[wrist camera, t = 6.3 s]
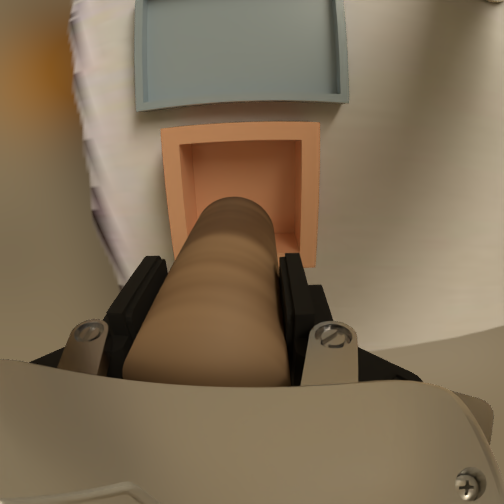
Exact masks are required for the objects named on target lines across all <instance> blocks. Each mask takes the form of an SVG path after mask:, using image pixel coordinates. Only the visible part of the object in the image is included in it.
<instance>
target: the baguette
mask: <svg viewBox="0 0 504 504" xmlns="http://www.w3.org/2000/svg"><path fill="white" fill-rule="evenodd" d="M123 379H126V380H134V381H143V382H152V383H163V384H176V385H192V386H214V387H285V386H291V381H290V370H289V360H288V350H287V346H286V337H285V327H284V317H283V308H282V298H281V289H280V280H279V267H278V258H277V250H276V241H275V233H274V227H273V223H272V221H271V218H270V217H269V215H268V214H267V212H266V211H265V210H264V209H263V208H262V207H261V206H260V205H258V204H257V203H255V202H254V201H252V200H249V199H246V198H243V197H225V198H221V199H219V200H216V201H214V202H213V203H211V204H210V205H208V206H207V207H206V208H205V209H204V210H203V212H202V213H201V215H200V216H199V218H198V220H197V222H196V223H195V225H194V227H193V229H192V230H191V232H190V234H189V236H188V238H187V239H186V241H185V243H184V245H183V247H182V249H181V250H180V252H179V254H178V256H177V258H176V260H175V262H174V263H173V265H172V267H171V269H170V271H169V273H168V275H167V277H166V279H165V280H164V282H163V284H162V286H161V288H160V290H159V292H158V294H157V296H156V298H155V300H154V302H153V304H152V306H151V308H150V310H149V312H148V314H147V316H146V318H145V320H144V322H143V324H142V326H141V328H140V330H139V332H138V334H137V336H136V338H135V340H134V343H133V345H132V347H131V349H130V351H129V353H128V355H127V357H126V359H125V362H124V365H123Z"/></svg>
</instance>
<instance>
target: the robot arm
mask: <svg viewBox="0 0 504 504" xmlns="http://www.w3.org/2000/svg"><path fill="white" fill-rule="evenodd" d="M487 1H490V2H494V3H498V2H503V1H504V0H487ZM167 275H168V272H167V266H166V261H165V260H164V259H161V257H160V256H146V257H145V258H144V259H143V261H142V262H141V263H140V265H139V266H138V267H137V269H136V270H135V272H134V273H133V274H132V276H131V277H130V279H129V280H128V282H127V283H126V284H125V286H124V287H123V289H122V290H121V292H120V293H119V295H118V296H117V298H116V299H115V300H114V302H113V303H112V305H111V306H110V308H109V309H108V311H107V314H106V316H105V317H104V319H103V320H100V319H91V320H86V321H84V322H81V323H80V324H78V325H77V326H76V327H75V328H74V329H73V330H72V331H71V333H70V336H69V338H68V341H67V343H66V346H65V347H63V348H61V349H59V350H57V351H54V352H52V353H50V354H47V355H45V356H43V357H41V358H38V359H36V360H34V361H31V362H29V363H28V362H23V361H17V360H9V359H0V504H504V480H503V478H502V475H501V472H500V469H499V467H498V464H497V461H496V459H495V456H494V454H493V452H492V450H491V448H490V441H491V435H492V427H493V419H494V415H493V410H492V408H491V406H490V405H489V404H488V403H487V402H486V401H484V400H482V399H479V398H476V397H472V396H469V395H465V394H461V393H458V392H454V391H451V390H448V389H446V388H444V387H441V386H438V385H434V384H430V383H424V382H423V381H422V380H421V379H420V378H419V377H418V376H417V375H415V374H414V373H412V372H410V371H408V370H405V369H403V368H401V367H399V366H397V365H395V364H392V363H390V362H388V361H386V360H384V359H382V358H380V357H378V356H376V355H373V354H371V353H369V352H367V351H365V350H363V349H361V348H359V347H358V340H357V334H356V332H355V331H354V329H353V328H352V327H350V326H349V325H347V324H345V323H342V322H337V321H333V319H332V315H331V312H330V309H329V306H328V303H327V300H326V297H325V294H324V291H323V288H322V285H308V284H307V280H306V276H305V272H304V268H303V265H302V261H301V257H300V253H285V257H280V258H279V280H280V289H281V298H282V308H283V317H284V327H285V337H286V346H287V350H288V360H289V370H290V381H291V386H285V387H214V386H192V385H176V384H163V383H152V382H143V381H134V380H126V379H123V365H124V362H125V359H126V357H127V355H128V353H129V351H130V349H131V347H132V345H133V343H134V340H135V338H136V336H137V334H138V332H139V330H140V328H141V326H142V324H143V322H144V320H145V318H146V316H147V314H148V312H149V310H150V308H151V306H152V304H153V302H154V300H155V298H156V296H157V294H158V292H159V290H160V288H161V286H162V284H163V282H164V280H165V279H166V277H167Z"/></svg>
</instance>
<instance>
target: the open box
mask: <svg viewBox="0 0 504 504" xmlns="http://www.w3.org/2000/svg"><path fill="white" fill-rule="evenodd" d="M161 142H162V155H163V166H164V177H165V187H166V196H167V205H168V213H169V222H170V229H171V237H172V244H173V251H174V258H175V260H176V258H177V256H178V254H179V252H180V250H181V249H182V247H183V245H184V243H185V241H186V239H187V238H188V236H189V234H190V232H191V230H192V229H193V227H194V225H195V223H196V222H197V220H198V218H199V216H200V215H201V213H202V212H203V210H204V209H205V208H206V207H207V206H208V205H210V204H211V203H213V202H214V201H216V200H219V199H221V198H225V197H243V198H246V199H249V200H252V201H254V202H255V203H257V204H258V205H260V206H261V207H262V208H263V209H264V210H265V211H266V212H267V214H268V215H269V217H270V218H271V221H272V223H273V227H274V233H275V241H276V250H277V258H278V267H279V258H280V257H285V253H300V257H301V261H302V265H303V268H309V267H315V264H316V248H317V230H318V207H319V174H320V122H308V121H254V122H229V123H212V124H199V125H187V126H177V127H170V128H163V129H161Z"/></svg>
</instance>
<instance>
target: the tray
mask: <svg viewBox="0 0 504 504" xmlns="http://www.w3.org/2000/svg"><path fill="white" fill-rule="evenodd" d="M134 68H135V98H136V112H147V111H153V110H161V109H169V108H177V107H186V106H196V105H208V104H222V103H242V102H315V103H334V104H346V103H349V78H348V53H347V37H346V23H345V12H344V1H343V0H136V1H135V29H134Z"/></svg>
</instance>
